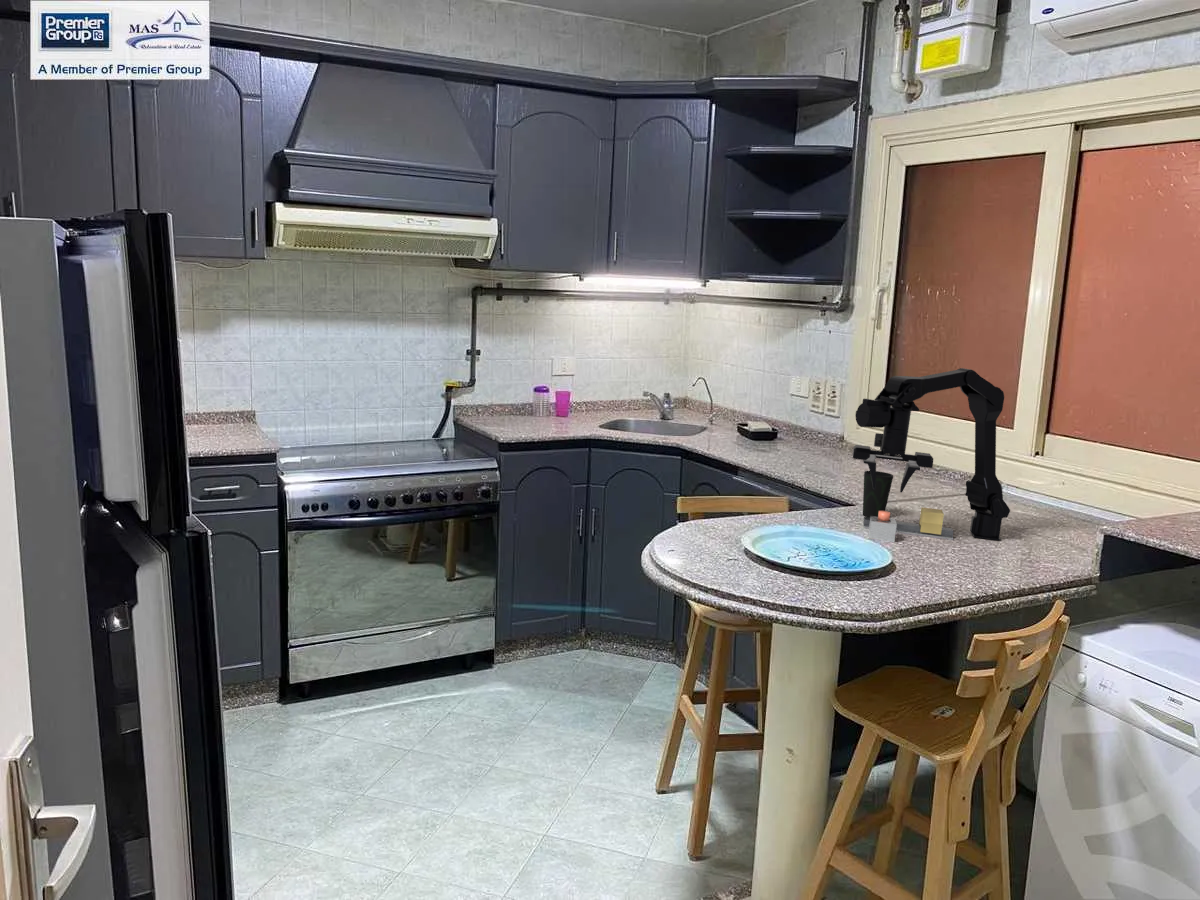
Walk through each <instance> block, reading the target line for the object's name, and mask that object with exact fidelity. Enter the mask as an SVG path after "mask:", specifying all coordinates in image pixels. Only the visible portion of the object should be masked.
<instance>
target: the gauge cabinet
mask: <svg viewBox="0 0 1200 900" xmlns="http://www.w3.org/2000/svg"><path fill="white" fill-rule="evenodd" d="M896 521H897V520H896V518H890V520H889V521H881V520H878V517H875V516H871V517H870V524H869V529H868V539H869V540H876V541H882V542H889V543H895V539H896V527H897V524H896Z"/></svg>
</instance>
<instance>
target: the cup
mask: <svg viewBox="0 0 1200 900" xmlns="http://www.w3.org/2000/svg"><path fill="white" fill-rule="evenodd" d="M893 479H894V474H892V473H890V472H889V473H888V472H884V471H879V470H876V486H875V489H873V484H872V478H871V473H870V470H865V471H864V472H863V496H862V516H863V517H869V518H870V517H871V516H875V517H878V513H879V511H887V510H886V509H887V505H888V500H889V496H890V492H891V487H892V484H893Z"/></svg>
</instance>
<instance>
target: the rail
mask: <svg viewBox="0 0 1200 900" xmlns="http://www.w3.org/2000/svg"><path fill="white" fill-rule="evenodd" d="M869 524H870V518H869V517H865V516H863V521H862V526H863V529H867V530H869ZM896 524H897V527H896V533H897V534H904V535H913V536H920V537H926V538H933V539H934V538H935V539H943V540H950V541H954V530H953V528H952V527H944V526H942V530H941V535H940V534H932V533H925V532H920V529H921V525H920V524H919V523H915V522H914V523H912V522H905V521H898V520H896Z"/></svg>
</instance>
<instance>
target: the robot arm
mask: <svg viewBox="0 0 1200 900" xmlns="http://www.w3.org/2000/svg"><path fill="white" fill-rule="evenodd" d="M955 388H960V391H961V392H962V393H963V395H965V396H966V397H967V402H968V408H969V411H970V413H971V414H972V416H973V418H974V424H975V425H974V475H973V476H972V478H971V480H966V482H965V486H966V488H965V489H966V490H965V496H966V497H967V501H968V502H969V506H970V510H971V511H974V515H973V516H971V521H970V528H969V531H970V533H971V535H972V537H973V538H977V539H978V538H979V539H984V540H993V541H1001V536H1000V533H1001V527H1002V523H1003V519H1004V518H1005V519H1006V518H1008V517H1009V515H1010V513H1011V509H1010V507H1009V506H1008V504H1007V503H1006V501H1005V500H1004V496H1003V488H1002V485H1001V483H1000V481H999V479H998V477H997V475H996V474H997V473H996V469H997V465H996V463H997V462H996V461H997V460H996V459H997V458H996V457H997V420H998V418H999V417H1000V415H1001V414H1002V412H1003V408H1004V401H1005V393H1004V391H1003V390H1002V389H1001V388H1000V387H999V386H995V385H994V384H993V383H991V382H989V381H988V380H987V379H986V378H983V377H982V376H980V374H979V373H977V372H976V371H975V370H974V369H970V368H969V369H968V368H963V367H962V368H961V367H960V368H958V369H954V370H949V371H945V372H938V373H933V374H929V375H928V374H927V375H923V376H911V375H910V376H909V375H908V376H907V375H893V376H891V377H890V378H888V380H887V382H886V384H885V386H884V388H882V390H881V391H880V392H879V393H878V395H876V397H875V398H874V399H870V398H863V399H862V403H860V404H859V406H858V407H857V409H856V410H855V416H854V417H855V421H856V424H857V425H858V426H859V427H860V428H880V429H881V428H883V433H879V432H875V434H874V440H873V447H876V448H879V450H875V449H871V446H869V445H861V444H855V445H854V446H853V448H852V459H854V460H861V461H862V462H863V464H865V465H867V466H868V470H869V471H870V473H871V478H872V484H873V489H875V486H876V471H877V461H876V459H883V460H891V461H900V462H906V463H905V469H904V472H903V476H902V480H901V482H900V483H901V484H900V488H899V493H901V494H902V493H903V492H904V490H905V487H906V486H907V484H908V482H909V481H910V479H911V478H912V476H913V475H914V473H915V472H916V471H921V468H928V469H932V468H933V465H934V458H933V456H932V455H931V453H927V452H918V451H915V452H914V454H909V453H906V449H907V443H908V436H909V428H910V422H911V421H910V420H911V415H912V412H919V411H920V408H919V407H918V406H917V405H916V403H915V401H916V400H919V399H921V398H923V397H924V396H925V395H927V394H930V393H933V392H939V391H940V392H941V391H945V390H951V389H955Z"/></svg>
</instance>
